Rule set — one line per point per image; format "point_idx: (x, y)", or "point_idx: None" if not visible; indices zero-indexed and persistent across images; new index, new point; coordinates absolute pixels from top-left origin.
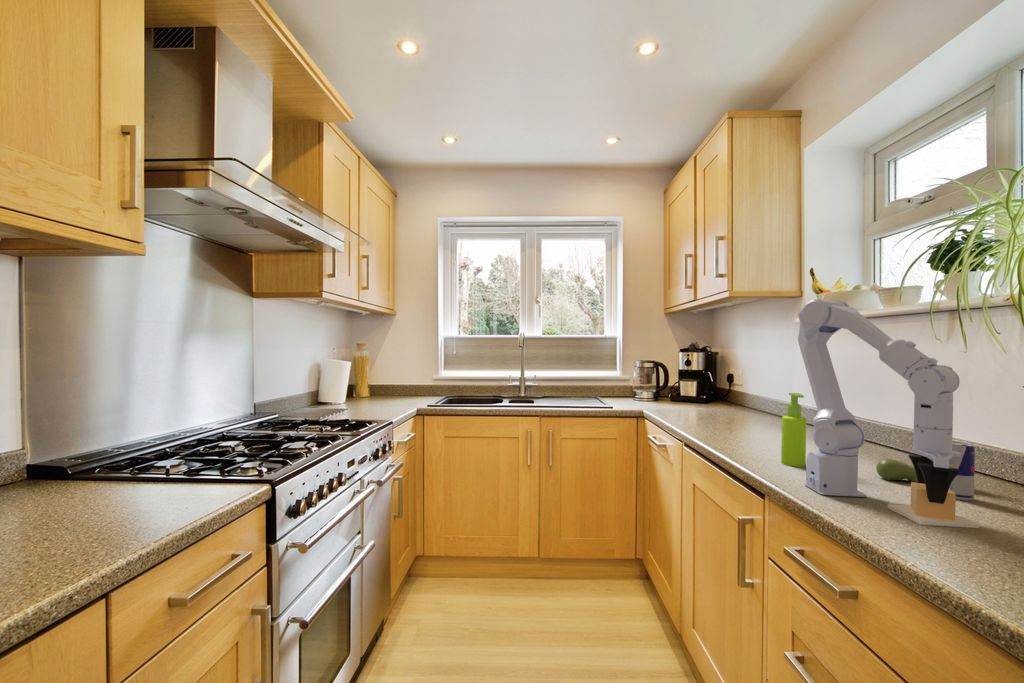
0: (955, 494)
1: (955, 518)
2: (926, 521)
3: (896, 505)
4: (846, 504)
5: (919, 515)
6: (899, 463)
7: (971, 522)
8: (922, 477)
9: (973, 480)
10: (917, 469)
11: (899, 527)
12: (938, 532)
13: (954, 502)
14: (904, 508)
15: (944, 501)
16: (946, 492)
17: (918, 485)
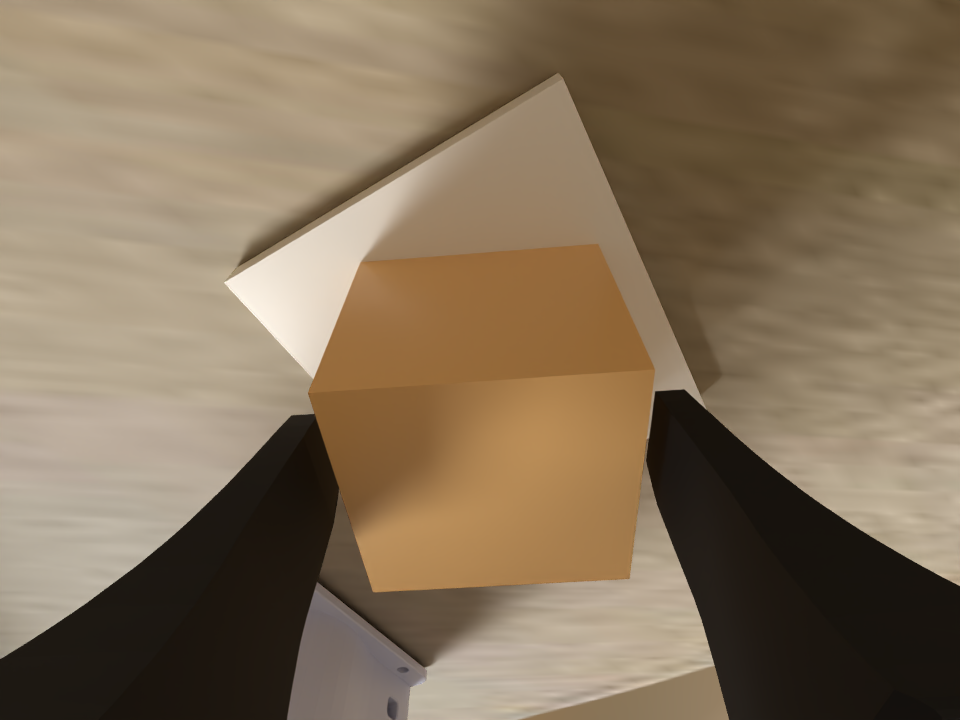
0: (654, 368)
1: (520, 232)
2: (696, 388)
3: None
4: (509, 611)
5: None
6: None
7: (571, 138)
8: (300, 585)
9: None
10: (284, 690)
11: (802, 475)
12: (817, 335)
13: (628, 324)
14: None
15: (694, 399)
16: (753, 457)
17: (473, 564)
